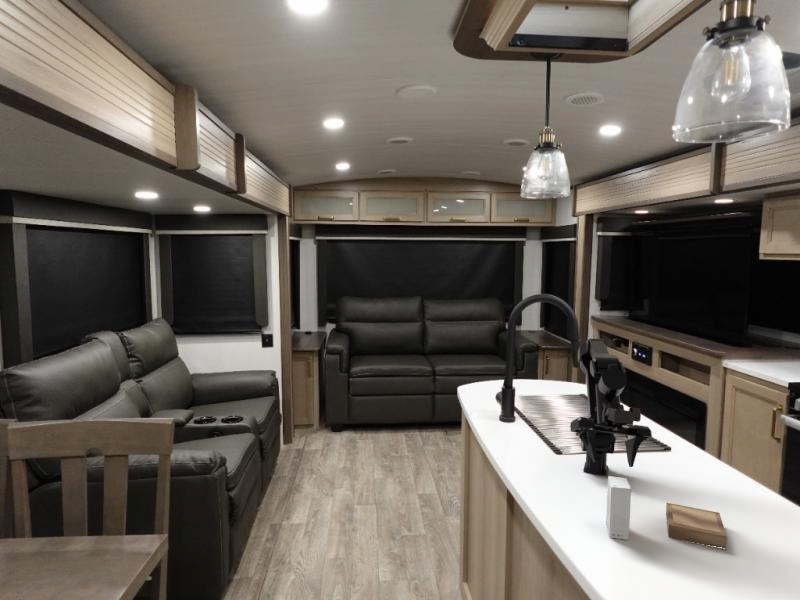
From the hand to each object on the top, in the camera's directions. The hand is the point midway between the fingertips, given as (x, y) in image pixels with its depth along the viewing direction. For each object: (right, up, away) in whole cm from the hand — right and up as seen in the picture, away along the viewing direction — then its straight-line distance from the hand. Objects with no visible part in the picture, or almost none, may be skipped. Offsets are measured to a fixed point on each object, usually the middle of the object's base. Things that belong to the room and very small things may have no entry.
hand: (612, 464), depth 121 cm
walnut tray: (+16, -13, -7) cm, 22 cm away
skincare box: (-2, -13, -8) cm, 16 cm away
